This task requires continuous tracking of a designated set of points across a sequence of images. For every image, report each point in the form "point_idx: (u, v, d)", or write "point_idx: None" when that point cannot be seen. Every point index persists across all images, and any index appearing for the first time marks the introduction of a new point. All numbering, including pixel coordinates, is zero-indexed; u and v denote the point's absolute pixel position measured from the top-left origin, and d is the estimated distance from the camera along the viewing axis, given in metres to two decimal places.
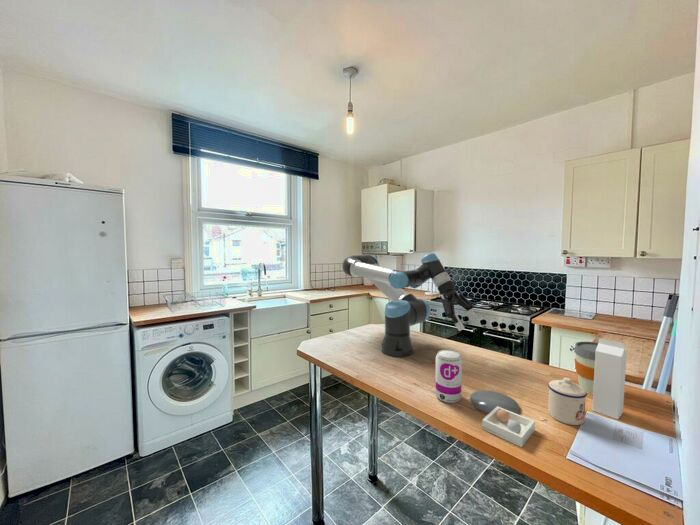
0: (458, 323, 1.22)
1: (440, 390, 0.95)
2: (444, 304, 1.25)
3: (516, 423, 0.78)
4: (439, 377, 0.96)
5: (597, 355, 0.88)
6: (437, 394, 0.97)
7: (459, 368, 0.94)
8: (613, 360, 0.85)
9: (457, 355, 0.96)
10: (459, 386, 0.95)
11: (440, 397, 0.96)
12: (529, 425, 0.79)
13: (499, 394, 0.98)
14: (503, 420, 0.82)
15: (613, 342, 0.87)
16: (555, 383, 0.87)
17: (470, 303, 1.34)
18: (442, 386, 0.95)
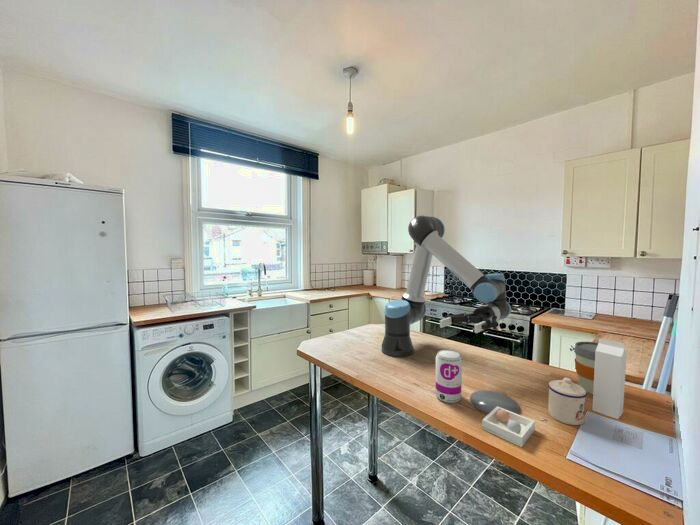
0: (480, 328, 1.00)
1: (440, 390, 0.95)
2: None
3: (516, 423, 0.78)
4: (439, 377, 0.96)
5: (597, 355, 0.88)
6: (437, 394, 0.97)
7: (459, 368, 0.94)
8: (613, 360, 0.85)
9: (457, 355, 0.96)
10: (459, 386, 0.95)
11: (440, 397, 0.96)
12: (529, 425, 0.79)
13: (499, 394, 0.98)
14: (503, 420, 0.82)
15: (613, 342, 0.87)
16: (555, 383, 0.87)
17: None
18: (442, 386, 0.95)
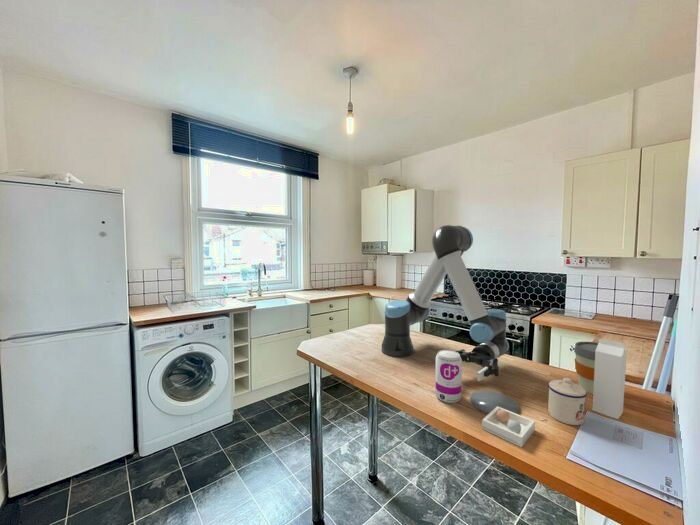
0: (483, 375, 0.97)
1: (440, 390, 0.95)
2: None
3: (516, 423, 0.78)
4: (439, 377, 0.96)
5: (597, 355, 0.88)
6: (437, 394, 0.97)
7: (459, 368, 0.94)
8: (613, 360, 0.85)
9: (457, 355, 0.96)
10: (459, 386, 0.95)
11: (440, 397, 0.96)
12: (529, 425, 0.79)
13: (499, 394, 0.98)
14: (503, 420, 0.82)
15: (613, 342, 0.87)
16: (555, 383, 0.87)
17: None
18: (442, 386, 0.95)
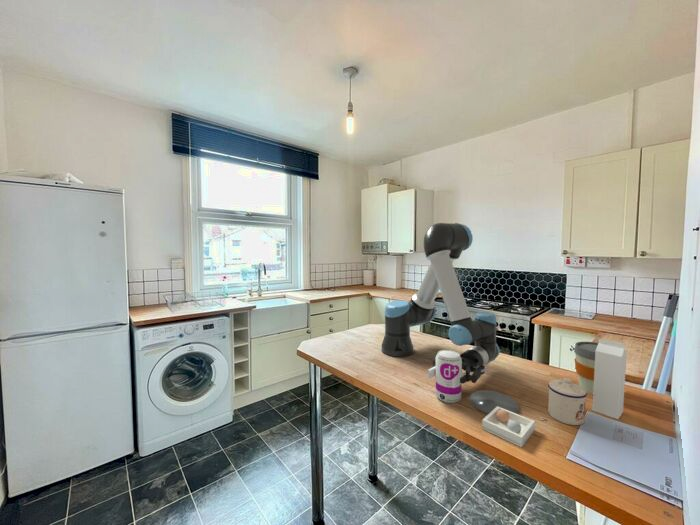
0: (458, 382, 0.93)
1: (440, 390, 0.95)
2: (479, 372, 0.97)
3: (516, 423, 0.78)
4: (439, 377, 0.96)
5: (597, 355, 0.88)
6: (437, 394, 0.97)
7: (459, 368, 0.94)
8: (613, 360, 0.85)
9: (457, 355, 0.96)
10: (459, 386, 0.95)
11: (440, 397, 0.96)
12: (529, 425, 0.79)
13: (499, 394, 0.98)
14: (503, 420, 0.82)
15: (613, 342, 0.87)
16: (555, 383, 0.87)
17: None
18: (442, 386, 0.95)
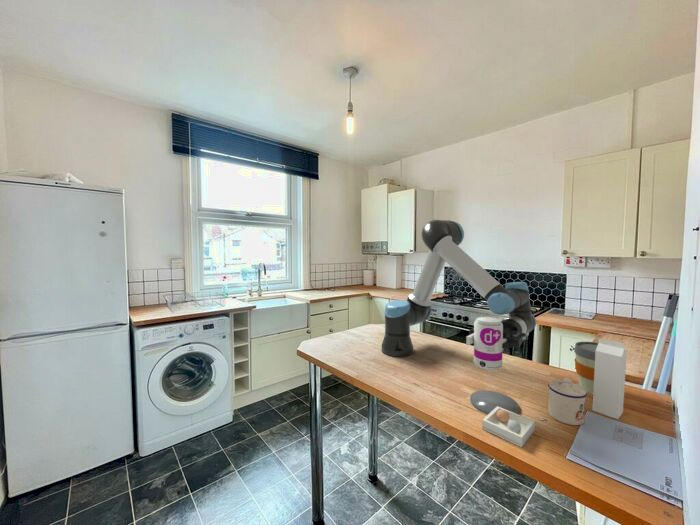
0: (501, 347, 0.87)
1: (480, 357, 0.90)
2: (521, 339, 0.92)
3: (516, 423, 0.78)
4: (478, 344, 0.91)
5: (597, 355, 0.88)
6: (476, 362, 0.92)
7: (501, 333, 0.89)
8: (613, 360, 0.85)
9: (498, 320, 0.91)
10: (501, 352, 0.89)
11: (480, 364, 0.90)
12: (529, 425, 0.79)
13: (499, 394, 0.98)
14: (503, 420, 0.82)
15: (613, 342, 0.87)
16: (555, 383, 0.87)
17: None
18: (482, 352, 0.90)
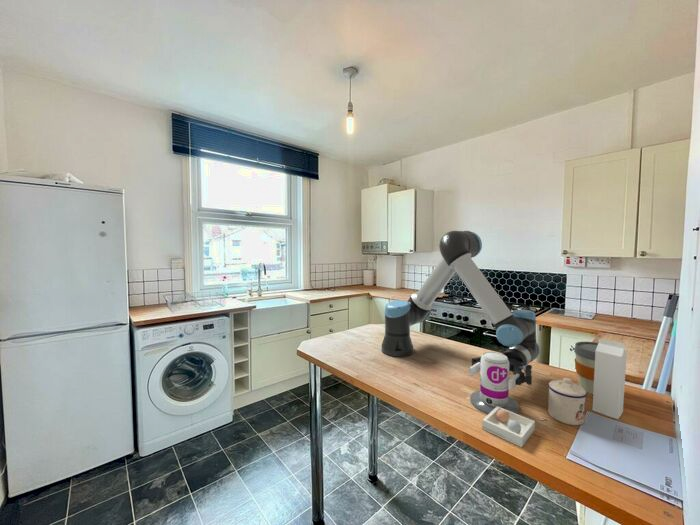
0: (514, 383, 0.88)
1: (487, 394, 0.91)
2: None
3: (516, 423, 0.78)
4: (485, 381, 0.91)
5: (597, 355, 0.88)
6: (483, 398, 0.92)
7: (508, 371, 0.90)
8: (613, 360, 0.85)
9: (504, 357, 0.92)
10: (507, 390, 0.90)
11: (487, 401, 0.91)
12: (529, 425, 0.79)
13: None
14: (503, 420, 0.82)
15: (613, 342, 0.87)
16: (555, 383, 0.87)
17: None
18: (489, 389, 0.90)
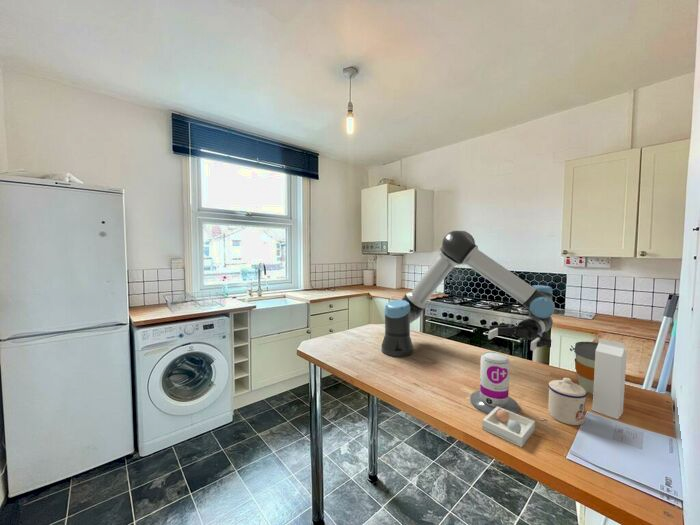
0: (536, 345, 0.96)
1: (487, 394, 0.91)
2: None
3: (516, 423, 0.78)
4: (485, 381, 0.91)
5: (597, 355, 0.88)
6: (483, 398, 0.92)
7: (508, 371, 0.90)
8: (613, 360, 0.85)
9: (504, 357, 0.92)
10: (507, 390, 0.90)
11: (487, 401, 0.91)
12: (529, 425, 0.79)
13: None
14: (503, 420, 0.82)
15: (613, 342, 0.87)
16: (555, 383, 0.87)
17: None
18: (489, 389, 0.90)
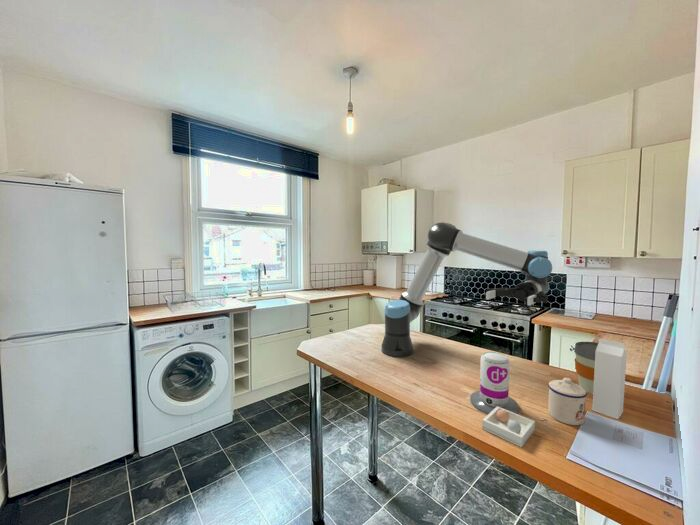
0: (532, 301, 0.98)
1: (487, 394, 0.91)
2: None
3: (516, 423, 0.78)
4: (485, 381, 0.91)
5: (597, 355, 0.88)
6: (483, 398, 0.92)
7: (508, 371, 0.90)
8: (613, 360, 0.85)
9: (504, 357, 0.92)
10: (507, 390, 0.90)
11: (487, 401, 0.91)
12: (529, 425, 0.79)
13: None
14: (503, 420, 0.82)
15: (613, 342, 0.87)
16: (555, 383, 0.87)
17: None
18: (489, 389, 0.90)
